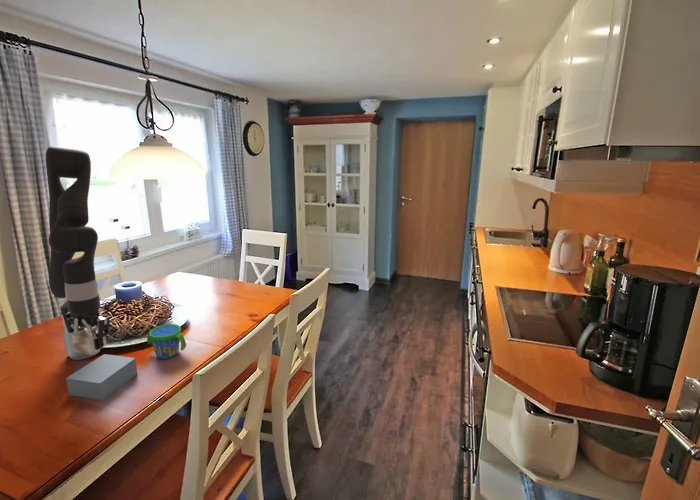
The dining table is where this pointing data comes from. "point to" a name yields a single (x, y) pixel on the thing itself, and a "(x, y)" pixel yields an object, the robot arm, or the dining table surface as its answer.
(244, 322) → the dining table surface
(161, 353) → the snack cup
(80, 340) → the cream cube
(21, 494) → the dining table surface
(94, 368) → the slate stand
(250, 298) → the dining table surface
